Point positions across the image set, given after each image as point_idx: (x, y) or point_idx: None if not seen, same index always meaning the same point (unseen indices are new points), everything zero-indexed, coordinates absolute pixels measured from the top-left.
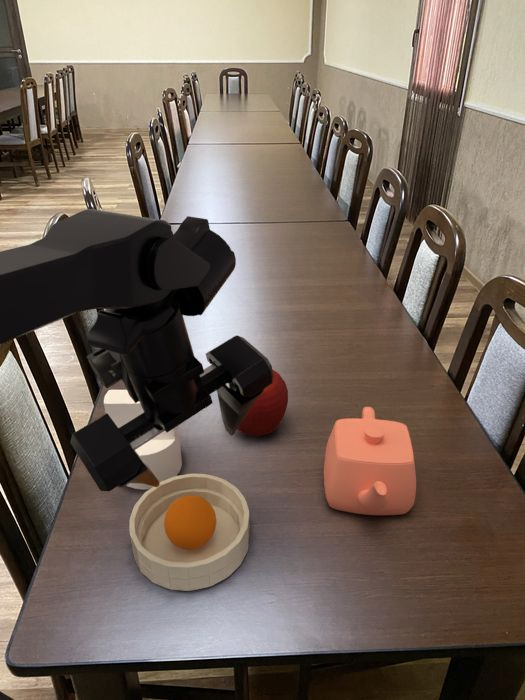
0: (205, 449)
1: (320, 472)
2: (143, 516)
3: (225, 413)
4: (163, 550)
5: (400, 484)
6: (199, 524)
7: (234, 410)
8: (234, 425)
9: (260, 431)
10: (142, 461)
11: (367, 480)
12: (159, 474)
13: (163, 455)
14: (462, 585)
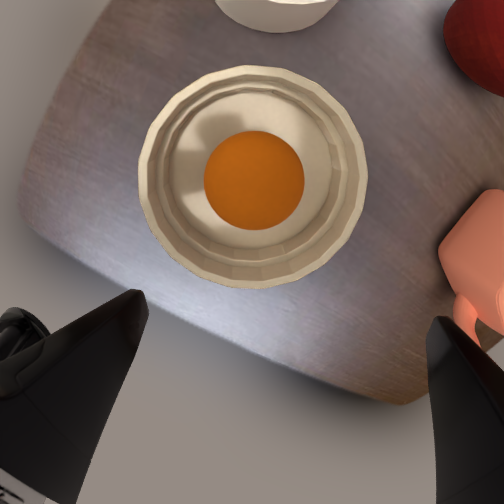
0: (378, 15)
1: (471, 186)
2: (191, 103)
3: (462, 414)
4: (200, 165)
5: (491, 327)
6: (255, 227)
7: (448, 499)
8: (433, 428)
9: (469, 76)
10: (57, 502)
11: (482, 311)
12: (270, 23)
13: (292, 9)
14: (425, 370)
